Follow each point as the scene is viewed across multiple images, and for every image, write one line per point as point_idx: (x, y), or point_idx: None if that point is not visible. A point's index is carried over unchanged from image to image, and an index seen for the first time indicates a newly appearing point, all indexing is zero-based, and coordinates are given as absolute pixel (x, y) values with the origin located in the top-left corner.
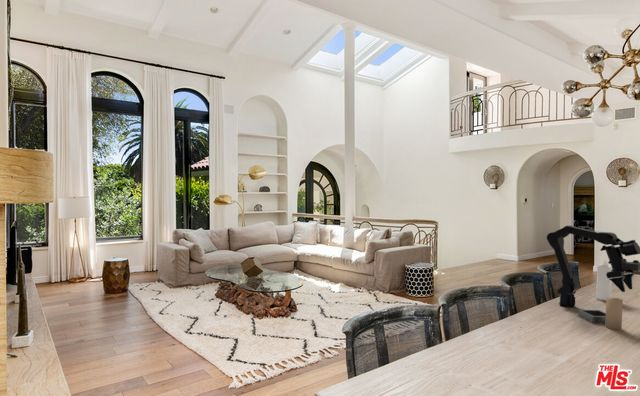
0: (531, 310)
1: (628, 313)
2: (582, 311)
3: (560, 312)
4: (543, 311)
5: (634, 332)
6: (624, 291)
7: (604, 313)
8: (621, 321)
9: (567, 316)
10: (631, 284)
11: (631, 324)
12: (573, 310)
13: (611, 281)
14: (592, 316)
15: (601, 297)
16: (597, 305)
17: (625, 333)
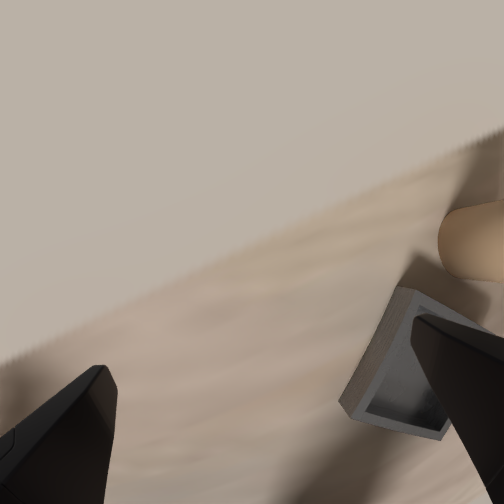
0: (478, 494)
1: (93, 353)
2: None
3: (430, 475)
4: (463, 486)
5: (439, 157)
6: (427, 315)
7: (391, 361)
8: (484, 203)
9: None
10: (72, 404)
11: (325, 226)
12: (348, 492)
13: None
14: None
15: None
16: (121, 491)
17: (480, 175)
